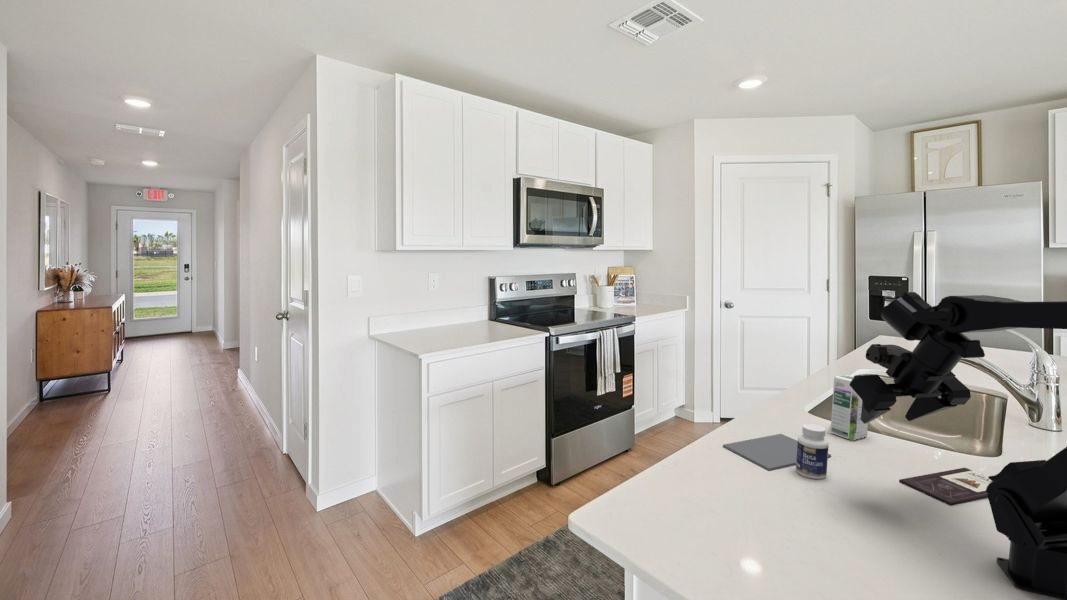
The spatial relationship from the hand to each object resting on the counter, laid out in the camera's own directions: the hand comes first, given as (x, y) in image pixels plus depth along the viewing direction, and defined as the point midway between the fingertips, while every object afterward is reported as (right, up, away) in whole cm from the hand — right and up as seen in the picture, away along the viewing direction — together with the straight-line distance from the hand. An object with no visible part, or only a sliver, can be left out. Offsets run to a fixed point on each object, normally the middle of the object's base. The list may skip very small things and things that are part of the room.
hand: (885, 420), depth 88 cm
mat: (-11, -12, +19) cm, 25 cm away
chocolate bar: (+16, -14, +3) cm, 21 cm away
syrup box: (+12, -11, +28) cm, 32 cm away
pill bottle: (-9, -13, +8) cm, 18 cm away
